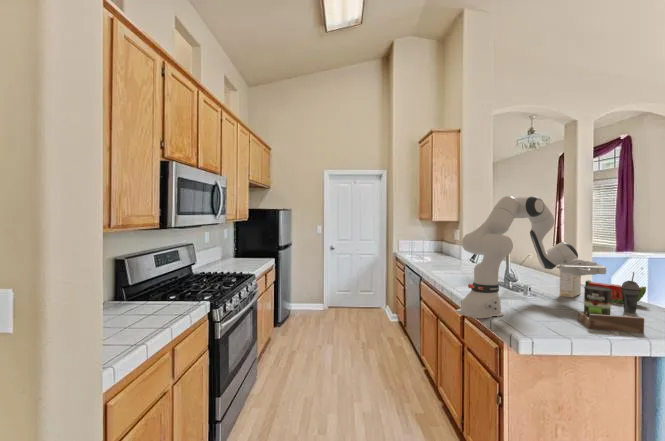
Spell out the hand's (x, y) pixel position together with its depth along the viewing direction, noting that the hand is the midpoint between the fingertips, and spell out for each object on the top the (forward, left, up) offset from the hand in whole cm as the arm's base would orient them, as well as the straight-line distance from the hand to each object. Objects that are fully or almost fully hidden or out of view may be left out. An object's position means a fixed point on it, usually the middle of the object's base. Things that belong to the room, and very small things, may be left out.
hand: (587, 271), depth 182 cm
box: (-17, -16, -20) cm, 31 cm away
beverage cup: (+17, -11, -20) cm, 29 cm away
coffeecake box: (+31, +24, -20) cm, 44 cm away
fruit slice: (+35, +3, -20) cm, 40 cm away
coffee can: (-9, -8, -20) cm, 23 cm away
